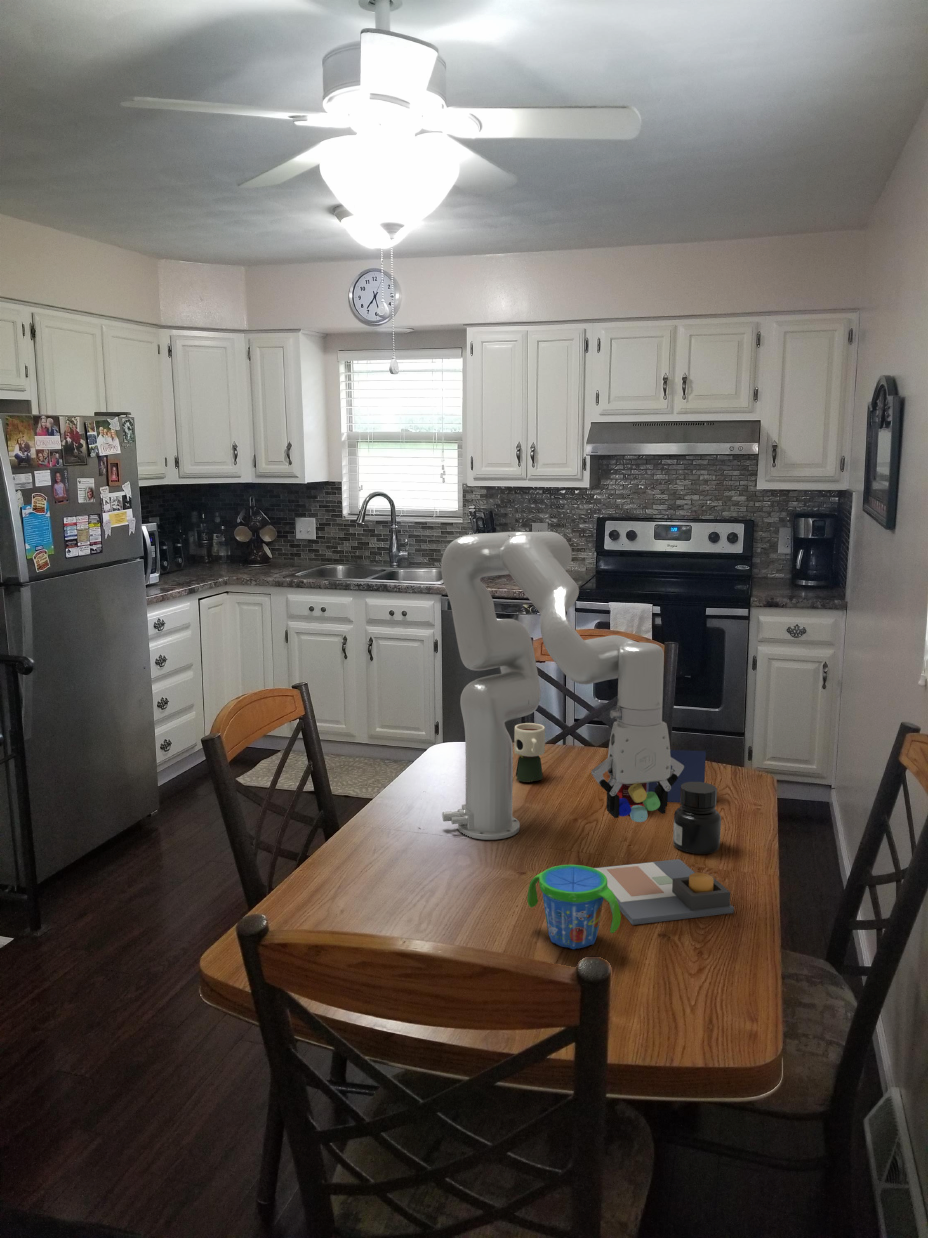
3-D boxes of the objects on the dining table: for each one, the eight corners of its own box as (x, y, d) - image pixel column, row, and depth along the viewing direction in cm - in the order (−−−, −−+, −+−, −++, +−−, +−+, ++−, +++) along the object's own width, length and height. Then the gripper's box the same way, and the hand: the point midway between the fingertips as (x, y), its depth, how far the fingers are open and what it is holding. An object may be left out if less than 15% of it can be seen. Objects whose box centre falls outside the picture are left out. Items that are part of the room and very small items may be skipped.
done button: (695, 898, 157) (696, 884, 157) (684, 887, 161) (684, 874, 161) (717, 895, 158) (718, 881, 158) (705, 885, 162) (706, 872, 162)
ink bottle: (682, 833, 191) (684, 776, 189) (725, 842, 187) (728, 784, 185) (666, 850, 183) (668, 790, 181) (711, 860, 178) (714, 799, 177)
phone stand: (696, 785, 220) (698, 735, 218) (703, 803, 208) (705, 751, 206) (643, 783, 221) (645, 734, 219) (648, 801, 210) (649, 749, 208)
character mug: (509, 773, 228) (509, 721, 226) (538, 772, 229) (538, 720, 227) (519, 789, 218) (520, 734, 215) (549, 787, 219) (550, 732, 217)
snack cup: (512, 934, 150) (512, 873, 149) (553, 911, 158) (554, 853, 156) (593, 970, 140) (595, 905, 138) (633, 944, 147) (635, 882, 146)
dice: (616, 823, 163) (617, 787, 162) (612, 817, 166) (613, 782, 165) (661, 821, 164) (662, 785, 163) (656, 815, 167) (657, 780, 166)
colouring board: (632, 925, 153) (633, 904, 153) (588, 873, 172) (588, 855, 172) (733, 913, 157) (734, 893, 157) (679, 864, 176) (680, 846, 176)
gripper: (599, 724, 156) (597, 825, 159) (696, 717, 160) (692, 816, 163) (583, 713, 164) (581, 810, 166) (676, 707, 168) (673, 801, 170)
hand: (636, 812), depth 165 cm, fingers closed on dice, 8 cm apart
